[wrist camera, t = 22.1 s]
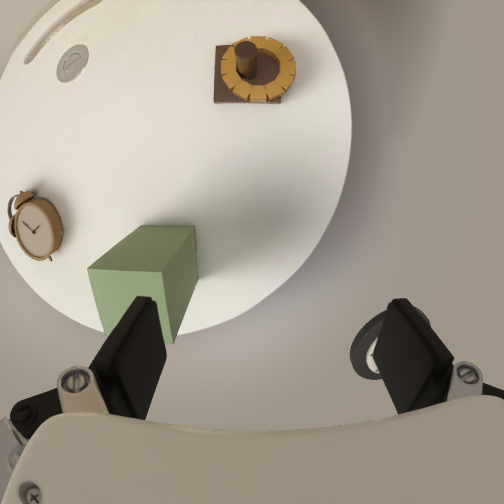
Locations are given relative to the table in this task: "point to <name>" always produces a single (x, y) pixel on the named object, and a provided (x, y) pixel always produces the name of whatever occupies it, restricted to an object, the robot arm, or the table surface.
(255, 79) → the peg stand
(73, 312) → the table surface
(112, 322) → the sage green upright pillar
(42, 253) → the alarm clock
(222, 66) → the brass ring
